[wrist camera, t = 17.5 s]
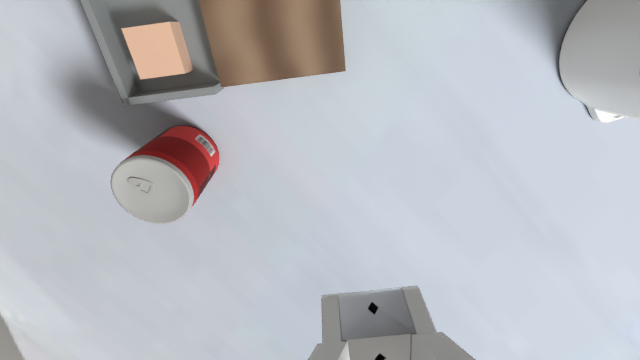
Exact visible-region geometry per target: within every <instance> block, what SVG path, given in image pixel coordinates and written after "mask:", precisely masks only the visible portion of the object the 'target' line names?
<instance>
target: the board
mask: <svg viewBox="0 0 640 360" xmlns="http://www.w3.org/2000/svg"><path fill="white" fill-rule="evenodd" d="M198 1H199V5H200V9H201V13H202V16H203V20H204V24H205V28H206V32H207V35H208V39H209V43H210V47H211V51H212V54H213V58H214V62H215V66H216V70H217V73H218V77H219V81H220V85H221V87H227V86H234V85H242V84H250V83H257V82H265V81H273V80H280V79H288V78H296V77H303V76H311V75H319V74H326V73H334V72H342V71H346V70H345V57H344V45H343V32H342V20H341V7H340V0H198Z"/></svg>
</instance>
